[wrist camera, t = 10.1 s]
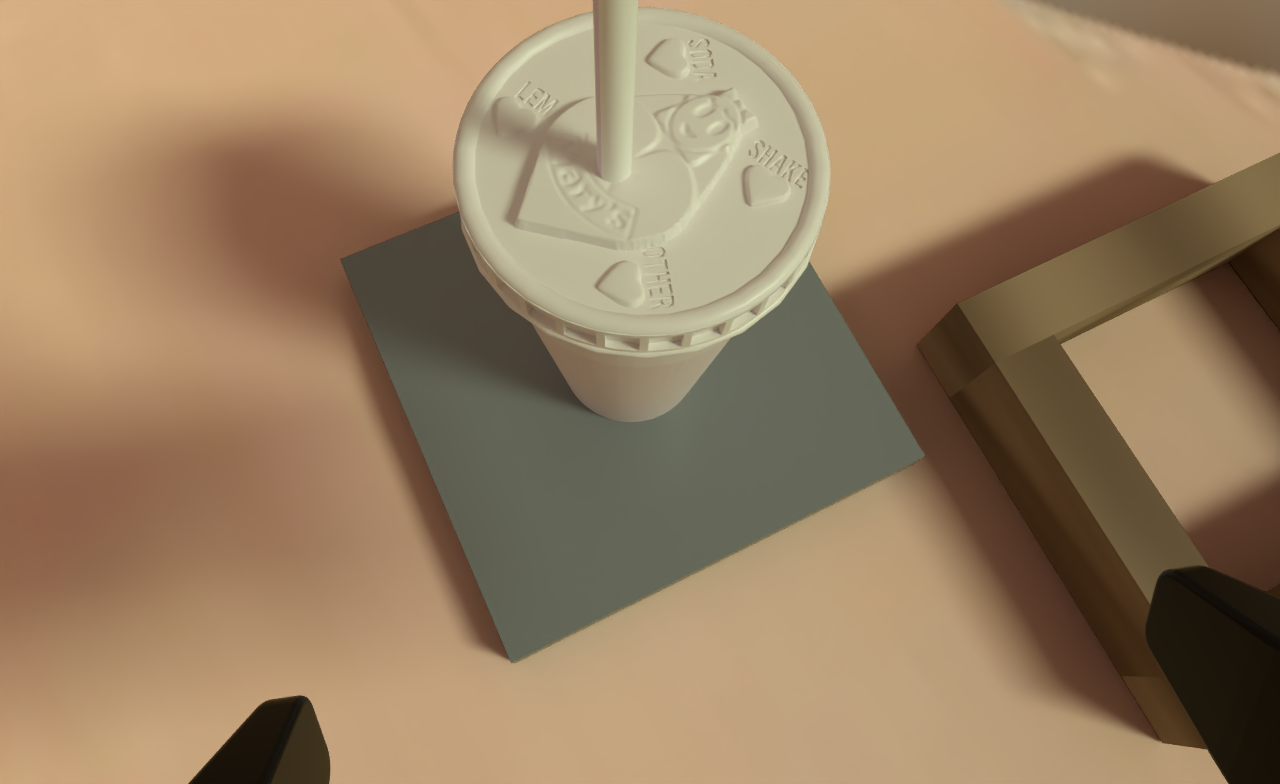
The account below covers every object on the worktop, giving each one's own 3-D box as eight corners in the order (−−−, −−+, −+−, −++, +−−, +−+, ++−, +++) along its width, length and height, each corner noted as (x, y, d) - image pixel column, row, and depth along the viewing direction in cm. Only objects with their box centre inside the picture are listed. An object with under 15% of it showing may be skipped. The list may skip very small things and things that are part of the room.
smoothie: (470, 319, 23) (284, -135, 10) (667, 214, 25) (735, -317, 11) (589, 517, 22) (554, 293, 9) (793, 395, 23) (1043, 29, 10)
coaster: (515, 662, 22) (510, 663, 21) (350, 274, 25) (340, 259, 24) (912, 464, 24) (925, 456, 23) (714, 128, 27) (718, 108, 26)
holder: (1162, 742, 22) (1246, 754, 19) (916, 344, 25) (957, 303, 22) (1504, 538, 24) (1628, 520, 21) (1238, 192, 27) (1313, 136, 24)
